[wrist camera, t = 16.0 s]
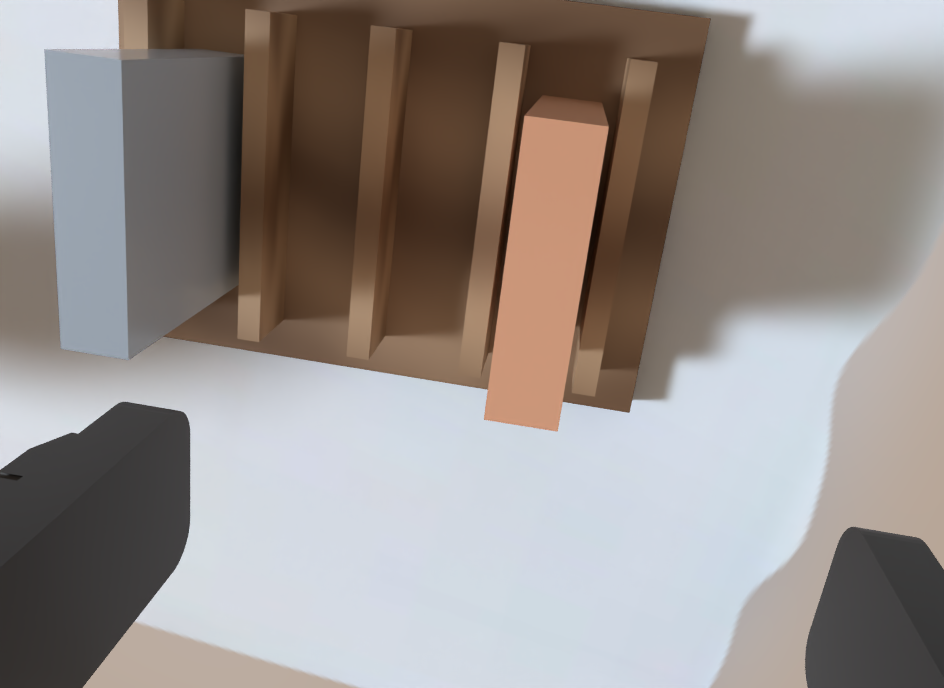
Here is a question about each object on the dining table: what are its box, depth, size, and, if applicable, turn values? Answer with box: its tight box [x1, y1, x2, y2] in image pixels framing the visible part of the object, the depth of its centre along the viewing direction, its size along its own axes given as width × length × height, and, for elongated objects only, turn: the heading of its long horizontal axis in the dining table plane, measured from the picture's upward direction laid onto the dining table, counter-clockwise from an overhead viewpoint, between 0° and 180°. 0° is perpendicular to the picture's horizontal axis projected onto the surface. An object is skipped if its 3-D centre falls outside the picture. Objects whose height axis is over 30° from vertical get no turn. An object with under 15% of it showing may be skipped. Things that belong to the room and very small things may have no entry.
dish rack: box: [118, 0, 711, 413], centre depth 29 cm, size 14×20×4 cm
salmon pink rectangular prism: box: [484, 95, 609, 431], centre depth 25 cm, size 8×2×9 cm, turn 173°
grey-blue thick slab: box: [44, 49, 244, 360], centre depth 26 cm, size 8×2×9 cm, turn 173°
